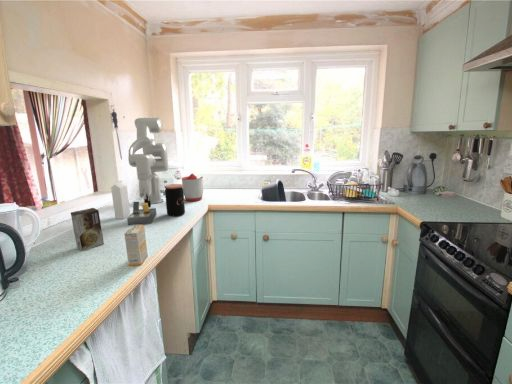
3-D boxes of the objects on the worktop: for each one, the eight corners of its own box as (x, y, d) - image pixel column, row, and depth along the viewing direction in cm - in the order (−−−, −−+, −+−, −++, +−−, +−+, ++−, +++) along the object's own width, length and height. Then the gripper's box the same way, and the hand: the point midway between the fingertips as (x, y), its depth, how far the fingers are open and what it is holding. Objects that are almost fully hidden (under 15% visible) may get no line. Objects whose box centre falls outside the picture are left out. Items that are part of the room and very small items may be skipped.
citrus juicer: (210, 198, 205) (208, 172, 201) (193, 203, 191) (191, 175, 186) (195, 196, 213) (193, 171, 209) (178, 200, 199) (176, 174, 195)
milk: (115, 218, 158) (109, 182, 153) (122, 215, 163) (117, 180, 159) (124, 219, 156) (118, 182, 152) (131, 216, 162) (126, 180, 157)
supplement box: (135, 256, 106) (131, 225, 104) (148, 256, 107) (144, 224, 104) (127, 266, 98) (123, 233, 95) (141, 265, 99) (137, 232, 96)
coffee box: (98, 241, 124) (93, 207, 120) (104, 244, 119) (99, 209, 116) (76, 247, 117) (70, 212, 113) (81, 251, 113) (75, 214, 109)
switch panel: (135, 215, 162) (135, 209, 161) (156, 214, 164) (155, 207, 163) (127, 225, 145) (126, 217, 144) (151, 223, 147) (150, 216, 146)
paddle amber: (144, 211, 154) (142, 203, 150) (149, 211, 155) (147, 202, 151) (144, 213, 153) (141, 204, 149) (149, 213, 154) (147, 204, 150)
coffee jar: (180, 217, 157) (177, 187, 154) (163, 216, 159) (160, 187, 156) (188, 212, 168) (186, 184, 164) (172, 211, 170) (170, 183, 166)
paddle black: (133, 213, 154) (133, 202, 156) (139, 213, 154) (139, 202, 156) (132, 212, 152) (133, 201, 154) (138, 212, 153) (138, 201, 155)
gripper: (140, 175, 160) (143, 204, 164) (134, 179, 146) (138, 211, 150) (153, 174, 161) (156, 203, 165) (148, 178, 147) (152, 210, 151)
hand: (147, 207), depth 157 cm, fingers closed
